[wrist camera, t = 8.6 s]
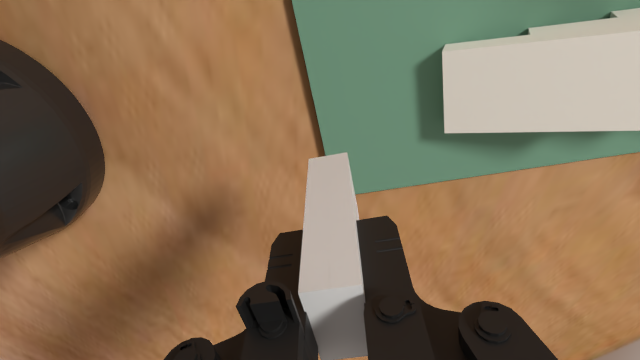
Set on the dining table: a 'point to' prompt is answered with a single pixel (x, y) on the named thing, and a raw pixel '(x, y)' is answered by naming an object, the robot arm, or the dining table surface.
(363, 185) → the felt mat
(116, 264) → the dining table surface
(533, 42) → the domino
